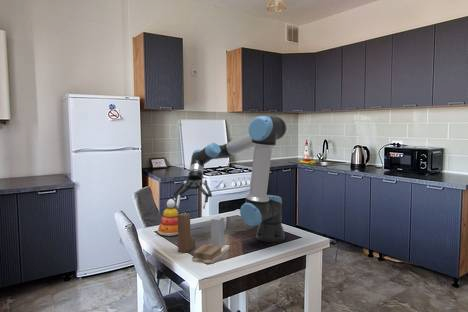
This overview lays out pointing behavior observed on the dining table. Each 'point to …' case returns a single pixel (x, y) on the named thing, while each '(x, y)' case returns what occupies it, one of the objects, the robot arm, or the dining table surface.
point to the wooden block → (184, 233)
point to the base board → (223, 249)
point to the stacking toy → (169, 220)
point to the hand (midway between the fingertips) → (190, 207)
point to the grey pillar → (217, 231)
